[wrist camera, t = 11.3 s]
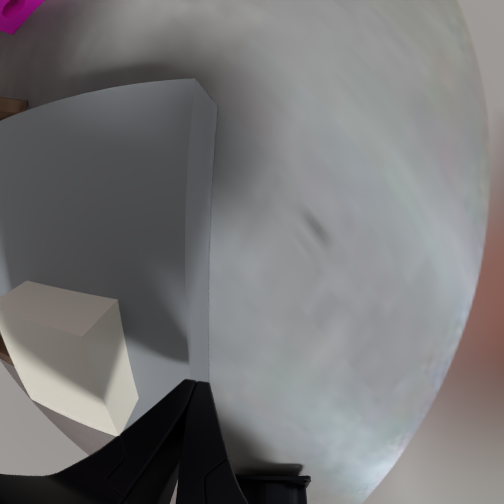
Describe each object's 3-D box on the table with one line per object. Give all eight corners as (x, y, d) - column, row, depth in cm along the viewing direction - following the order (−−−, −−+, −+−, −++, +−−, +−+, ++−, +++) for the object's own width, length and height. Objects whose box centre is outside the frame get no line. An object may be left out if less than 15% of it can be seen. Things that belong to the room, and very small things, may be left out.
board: (218, 106, 10) (195, 78, 6) (209, 402, 15) (198, 452, 11) (23, 132, 10) (-25, 132, 7) (56, 362, 15) (29, 394, 11)
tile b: (117, 299, 9) (82, 336, 6) (138, 397, 10) (119, 437, 8) (27, 280, 9) (-10, 303, 6) (55, 370, 10) (31, 398, 8)
